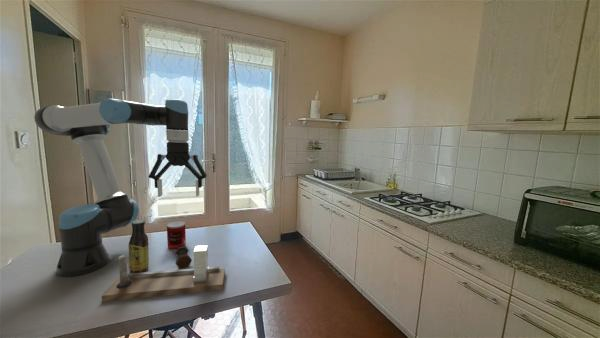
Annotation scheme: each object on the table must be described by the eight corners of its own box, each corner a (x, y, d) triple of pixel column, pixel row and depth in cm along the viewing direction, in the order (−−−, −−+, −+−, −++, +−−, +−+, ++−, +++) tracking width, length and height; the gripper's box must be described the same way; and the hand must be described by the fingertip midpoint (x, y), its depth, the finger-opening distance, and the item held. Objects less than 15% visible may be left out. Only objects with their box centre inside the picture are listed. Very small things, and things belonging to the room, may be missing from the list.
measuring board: (102, 301, 75) (99, 265, 73) (118, 282, 84) (116, 250, 83) (222, 289, 83) (222, 257, 81) (224, 273, 92) (224, 244, 91)
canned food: (180, 241, 118) (179, 219, 117) (189, 245, 114) (188, 223, 112) (164, 246, 112) (163, 224, 111) (172, 251, 108) (172, 228, 106)
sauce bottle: (125, 273, 90) (122, 222, 88) (141, 265, 96) (139, 217, 93) (137, 277, 88) (135, 225, 85) (153, 268, 94) (151, 220, 91)
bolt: (183, 255, 108) (186, 270, 96) (172, 252, 106) (173, 267, 93) (190, 243, 109) (193, 257, 96) (179, 240, 107) (181, 253, 94)
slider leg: (193, 282, 82) (192, 252, 81) (196, 273, 88) (196, 244, 86) (205, 281, 83) (205, 251, 82) (208, 272, 89) (208, 244, 87)
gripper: (136, 140, 85) (139, 198, 88) (210, 143, 90) (211, 197, 93) (145, 140, 92) (147, 193, 95) (213, 142, 98) (213, 193, 100)
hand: (179, 195), depth 94 cm, fingers open, 13 cm apart
